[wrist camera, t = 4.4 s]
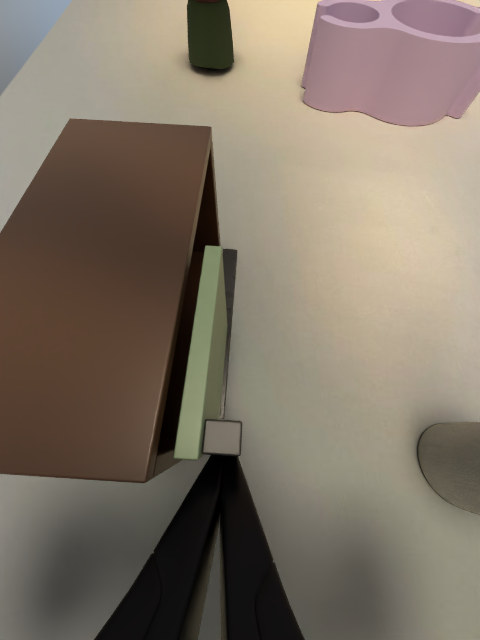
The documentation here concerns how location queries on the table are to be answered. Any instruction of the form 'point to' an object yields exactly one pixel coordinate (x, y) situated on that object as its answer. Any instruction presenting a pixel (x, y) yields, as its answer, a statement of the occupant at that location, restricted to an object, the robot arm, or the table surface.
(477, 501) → the grey hollow tube
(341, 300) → the table surface
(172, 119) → the table surface
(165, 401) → the cupboard
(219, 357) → the sliding door
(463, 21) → the clip
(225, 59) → the character mug
